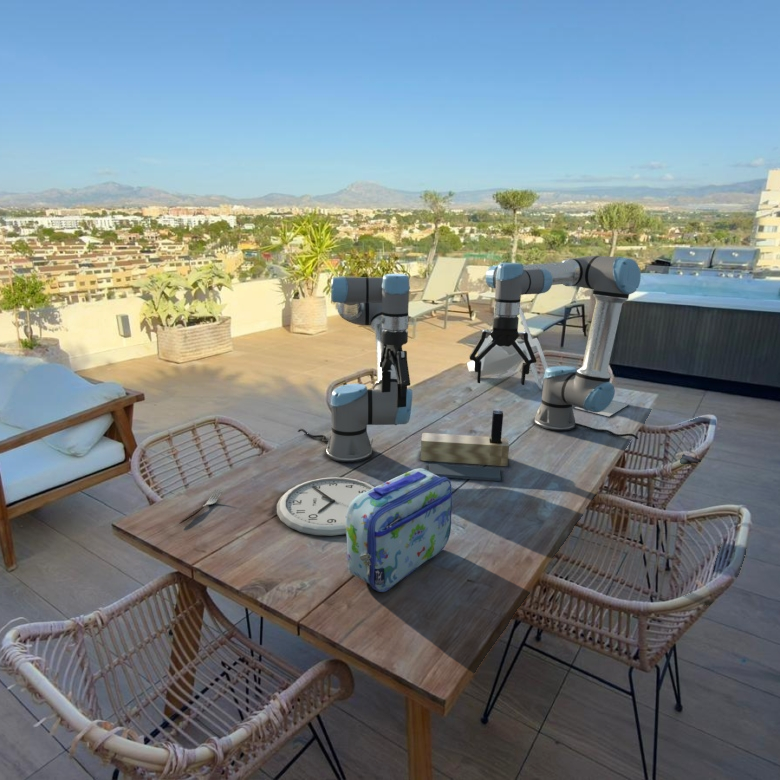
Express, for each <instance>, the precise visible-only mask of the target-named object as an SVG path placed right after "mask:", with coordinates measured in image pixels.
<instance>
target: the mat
mask: <svg viewBox="0 0 780 780" xmlns="http://www.w3.org/2000/svg"><path fill="white" fill-rule="evenodd" d="M428 471H429V472H431V473H433V474H435V475H437V476H439V477H446V478H448V479H449V478H450V479H464V480H477V481H478V480H479V481H492V482H493V481H494V482H501V481H502V477H501V471H500V468H499V467H487V466H486V467H484V466H470V465H455V464H441V463H428Z"/></svg>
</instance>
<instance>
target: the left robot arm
mask: <svg viewBox="0 0 780 780" xmlns="http://www.w3.org/2000/svg"><path fill="white" fill-rule="evenodd" d="M410 289H411V286H410V277H409V276H408V274H403V273H387V274H384V275H383V276H382V277H381V276H376V277H375V276H373V277H372V276H369V277H368V276H367V277H365V276H363V277H362V276H334V277H332V278H331V280H330V296H331V297H330V298H331V301H332V302H333V303H336V310H337V313H338V314H339V316H340V317H341V318H342V319H343V320H345V321H346V322H347V323H350V324H354V325H357V326H369V327H370V329H371V331H372V332H373V333H374V337H375V361H376V362H375V364H376V382H375V383H374V384H373V386H372V388H371V389H368V387H367V385H366V384H363V383H348V384H344V385H340V386H338V387H336V388H334V389H333V390H332V392H331V397H330V407H331V411H330V412H331V413H330V414H331V417H330V418H331V432H330V436H329V438H328V439H326V438H327V437H326V436H325V435H324V434H316V435H313V434H311V433H309V432H308V431H307V430H305V429H304V428H299V429H298V430H297V432H298V433H300V432H303V433H304V434H305V435H306V436H308V437H309V438H313V439H315V438H322V439H321V441H322V442H323V443H327V445H326V451H325V452H326V456H327V458H329V459H330V460H332V461H335V462H339V463H348V464H349V463H358V462H362V461H365V460H367V459H369V458H370V457H372V454H373V447H372V445H373V442H374V439H373V438H371V441H370V437H369V435H368V429H367V427H368V426H370V425H371V426H397V425H398V426H399V425H407V424H408V423H409V421H410V419H411V412H412V404H413V390H412V388H411V389H410V388H408V387H410V386H411V378H410V372H409V364H408V352H407V350H403V346H404V345H406V344H407V343H408V342H409V340H408V339H409V331H408V329H409V317H410V315H409V305H410V303H409V301H410ZM307 433H308V434H307Z"/></svg>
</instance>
